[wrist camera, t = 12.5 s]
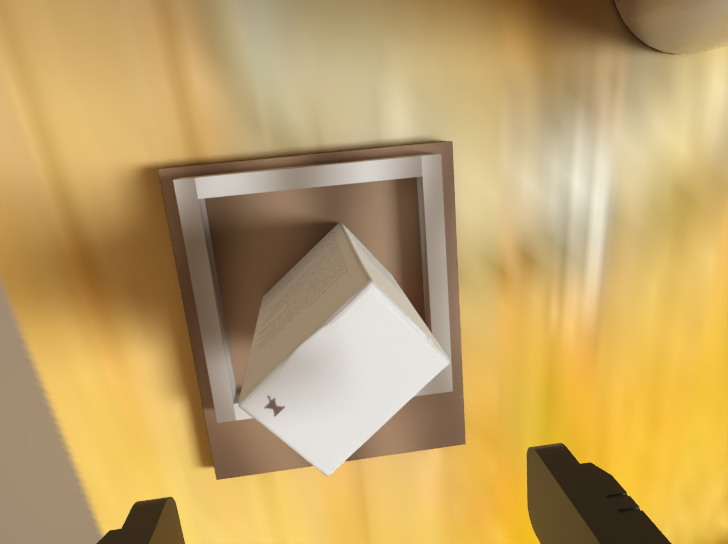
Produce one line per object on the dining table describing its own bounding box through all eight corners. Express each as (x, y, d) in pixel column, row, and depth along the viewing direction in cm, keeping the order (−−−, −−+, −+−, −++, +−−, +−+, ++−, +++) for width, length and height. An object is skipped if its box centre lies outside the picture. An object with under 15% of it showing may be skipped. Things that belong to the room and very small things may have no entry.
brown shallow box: (446, 141, 28) (460, 141, 26) (459, 433, 33) (473, 458, 30) (164, 167, 27) (149, 171, 25) (219, 467, 32) (212, 496, 29)
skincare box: (317, 347, 29) (324, 484, 18) (261, 296, 28) (230, 406, 17) (395, 272, 29) (456, 364, 17) (341, 217, 28) (367, 275, 16)
